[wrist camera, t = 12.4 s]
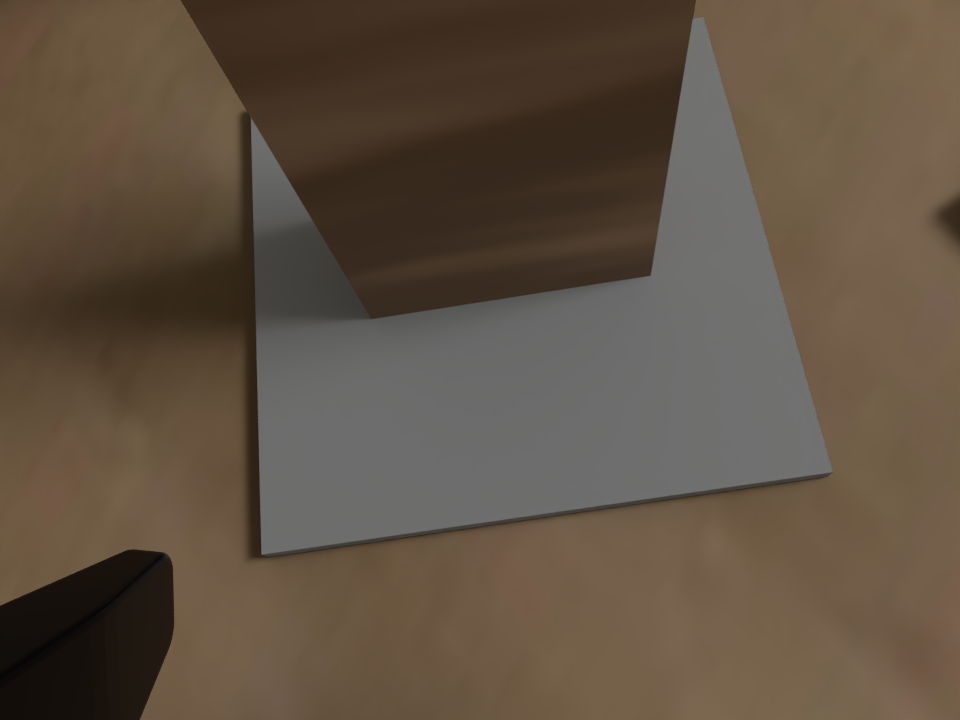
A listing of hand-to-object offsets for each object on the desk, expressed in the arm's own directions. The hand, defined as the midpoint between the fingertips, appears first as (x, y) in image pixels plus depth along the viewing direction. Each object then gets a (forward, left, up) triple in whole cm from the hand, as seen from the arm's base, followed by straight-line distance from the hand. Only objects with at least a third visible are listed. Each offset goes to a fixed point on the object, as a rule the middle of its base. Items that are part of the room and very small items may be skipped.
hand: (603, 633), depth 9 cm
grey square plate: (+6, +6, -9) cm, 12 cm away
